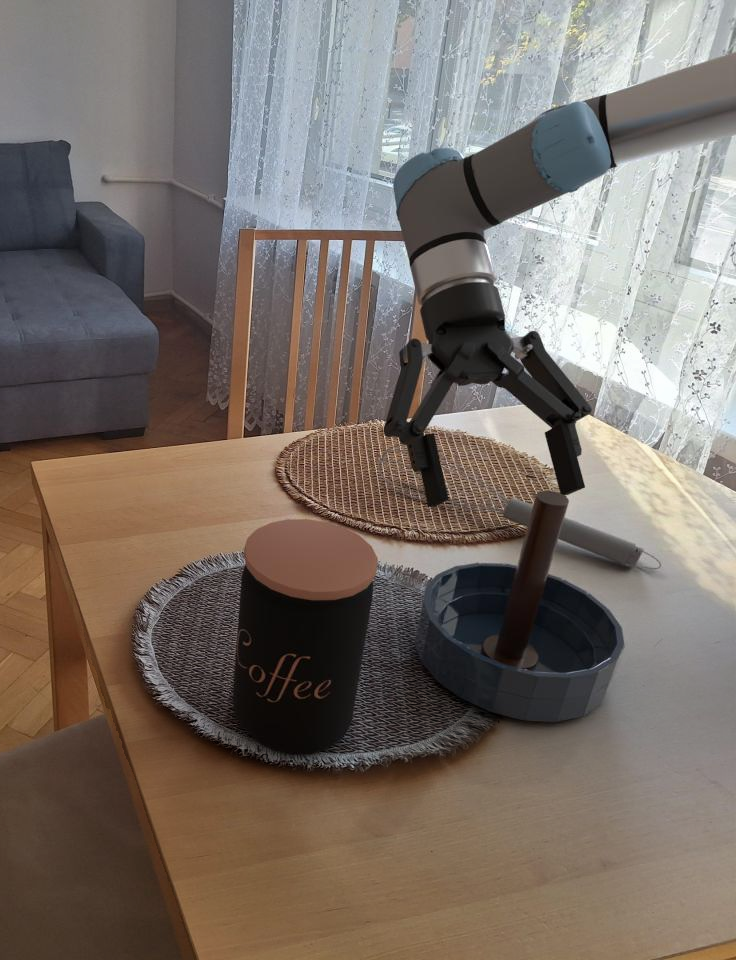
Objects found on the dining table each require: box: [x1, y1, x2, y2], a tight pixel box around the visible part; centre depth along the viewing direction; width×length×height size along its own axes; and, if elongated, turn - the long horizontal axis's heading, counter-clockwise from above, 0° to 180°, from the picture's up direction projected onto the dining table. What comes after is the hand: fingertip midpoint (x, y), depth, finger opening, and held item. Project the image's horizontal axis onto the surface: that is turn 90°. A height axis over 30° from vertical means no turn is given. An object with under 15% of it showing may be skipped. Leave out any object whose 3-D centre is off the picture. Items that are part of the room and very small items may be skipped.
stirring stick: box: [481, 490, 570, 671], centre depth 79 cm, size 5×5×18 cm
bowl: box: [414, 562, 626, 723], centre depth 83 cm, size 17×17×6 cm
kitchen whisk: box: [376, 443, 662, 570], centre depth 105 cm, size 6×34×6 cm, turn 48°
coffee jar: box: [232, 518, 379, 756], centre depth 74 cm, size 11×11×18 cm
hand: (506, 497), depth 82 cm, fingers open, 13 cm apart
